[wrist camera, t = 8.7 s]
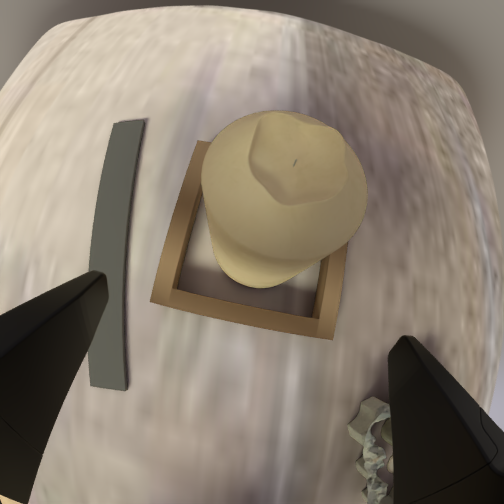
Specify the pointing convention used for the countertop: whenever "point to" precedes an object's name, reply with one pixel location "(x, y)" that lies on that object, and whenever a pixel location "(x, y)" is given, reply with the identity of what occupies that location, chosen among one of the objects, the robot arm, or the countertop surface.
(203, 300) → the keeper frame
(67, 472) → the countertop surface
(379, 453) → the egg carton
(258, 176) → the candle
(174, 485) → the countertop surface
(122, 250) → the strip
